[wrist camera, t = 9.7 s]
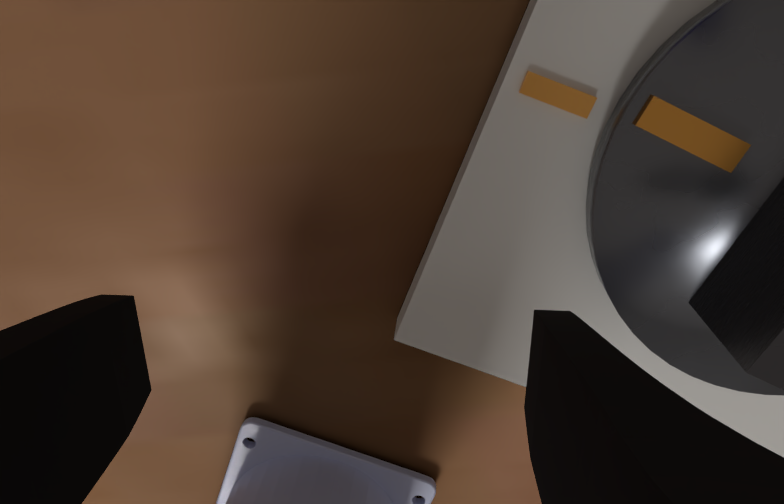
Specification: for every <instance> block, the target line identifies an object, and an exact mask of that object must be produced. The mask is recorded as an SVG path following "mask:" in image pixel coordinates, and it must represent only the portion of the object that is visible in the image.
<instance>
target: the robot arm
mask: <svg viewBox="0 0 784 504" xmlns="http://www.w3.org/2000/svg"><path fill="white" fill-rule="evenodd" d="M150 392H151V385H150V380H149V374H148V369H147V364H146V359H145V353H144V348H143V343H142V337H141V332H140V327H139V321H138V316H137V311H136V305H135V300H134V296H127V295H98V296H94V297H90V298H87V299H83V300H80V301H77V302H74V303H71V304H68V305H66V306H63V307H60V308H58V309H55V310H52V311H50V312H47V313H44V314H42V315H39V316H37V317H34V318H32V319H29V320H26V321H24V322H21V323H19V324H16V325H14V326H11V327H9V328H6V329H4V330H1V331H0V504H82V502H83V501H84V499H85V498H86V497H87V495H88V494H89V492H90V491H91V490H92V488H93V487H94V485H95V484H96V483H97V481H98V480H99V478H100V477H101V475H102V474H103V473H104V471H105V470H106V468H107V467H108V465H109V464H110V462H111V461H112V460H113V458H114V457H115V455H116V454H117V452H118V451H119V449H120V448H121V446H122V445H123V443H124V442H125V440H126V439H127V437H128V436H129V434H130V432H131V430H132V428H133V426H134V424H135V423H136V421H137V419H138V417H139V415H140V413H141V411H142V409H143V407H144V404H145V402H146V400H147V398H148V396H149V394H150ZM524 409H525V418H526V427H527V435H528V443H529V451H530V458H531V462H532V466H533V470H534V474H535V478H536V482H537V486H538V490H539V494H540V498H541V502H542V504H784V457H782V456H780V455H778V454H776V453H774V452H772V451H771V450H769V449H767V448H765V447H763V446H761V445H759V444H757V443H756V442H754V441H752V440H750V439H749V438H747V437H745V436H744V435H742V434H740V433H738V432H737V431H735V430H733V429H732V428H730V427H728V426H726V425H725V424H723V423H721V422H720V421H718V420H716V419H715V418H713V417H711V416H710V415H708V414H706V413H705V412H703V411H702V410H700V409H699V408H697V407H696V406H694V405H692V404H691V403H689V402H688V401H687V400H685V399H684V398H682V397H681V396H679V395H678V394H677V393H675V392H674V391H672V390H671V389H669V388H668V387H666V386H665V385H664V384H662V383H661V382H659V381H658V380H657V379H655V378H654V377H653V376H651V375H650V374H649V373H647V372H646V371H645V370H643V369H642V368H641V367H639V366H638V365H637V364H636V363H634V362H633V361H632V360H630V359H629V358H628V357H627V356H625V355H624V354H623V353H622V352H620V351H619V350H618V349H617V348H616V347H614V346H613V345H612V344H611V343H609V342H608V341H607V340H606V339H605V338H603V337H602V336H601V335H600V334H599V333H597V332H596V331H595V330H594V329H593V328H591V327H590V326H589V325H588V324H587V323H585V322H584V321H583V320H582V319H580V318H579V317H578V316H577V315H575V314H574V313H572V312H571V311H559V310H534V315H533V325H532V335H531V345H530V355H529V366H528V376H527V386H526V396H525V406H524ZM247 438H252V439H253V440H254V441H255V442H252V441H249V440H247ZM435 493H436V483H435V481H434V480H433V479H432V478H431V477H429V476H426V475H423V474H420V473H418V472H415V471H412V470H409V469H406V468H403V467H400V466H397V465H394V464H391V463H388V462H385V461H382V460H380V459H377V458H374V457H371V456H368V455H365V454H362V453H359V452H356V451H353V450H350V449H347V448H345V447H342V446H339V445H336V444H333V443H330V442H327V441H324V440H321V439H318V438H315V437H312V436H310V435H307V434H304V433H301V432H298V431H295V430H292V429H289V428H286V427H283V426H280V425H277V424H274V423H272V422H269V421H266V420H263V419H260V418H256V417H250V418H247V419H246V420H245V421H244V422H243V424H242V426H241V428H240V431H239V434H238V437H237V440H236V443H235V446H234V449H233V452H232V456H231V459H230V462H229V465H228V468H227V471H226V474H225V477H224V480H223V483H222V487H221V490H220V493H219V496H218V499H217V502H216V504H431V502H432V500H433V498H434V496H435ZM417 495H418V496H422V497H423V498H416V497H414V496H417Z"/></svg>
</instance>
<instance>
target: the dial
mask: <svg viewBox="0 0 784 504" xmlns="http://www.w3.org/2000/svg"><path fill="white" fill-rule="evenodd" d="M586 230H587V237H588V242H589V248H590V253H591V257H592V260H593V263H594V266H595V269H596V272H597V274H598V277H599V280H600V281H601V283H602V285H603V287H604V289H605V291H606V293H607V295H608V296H609V298H610V300H611V302H612V304H613V305H614V307H615V309H616V311H617V312H618V314H619V316H620V317H621V318H622V320H623V321H624V322H625V324H626V325H627V326H628V328H629V329H630V330H631V332H632V333H633V334H634V335H635V336H636V337H637V338H638V339H639V340H640V341H641V342H642V343H643V344H644V345H645V346H646V347H647V348H648V349H649V350H650V351H652V352H653V353H654V354H656V355H657V356H658V357H660V358H661V359H663V360H664V361H665V362H667V363H668V364H669V365H671V366H673V367H675V368H677V369H679V370H680V371H682V372H684V373H686V374H688V375H690V376H692V377H694V378H697V379H700V380H702V381H705V382H707V383H710V384H713V385H716V386H720V387H724V388H728V389H732V390H736V391H740V392H747V393H755V394H762V395H784V0H716V1H714V2H713V3H712V4H710V5H709V6H708V7H706V8H705V9H703V10H702V11H701V12H699V13H698V14H697V15H695V16H694V17H693V18H691V19H690V20H688V21H687V22H686V23H685V24H684V25H683V26H681V27H680V28H679V29H678V30H677V31H676V32H675V33H674V34H673V35H672V36H671V37H669V38H668V39H667V40H666V41H665V42H664V43H663V44H662V45H661V46H660V47H659V48H658V49H657V50H656V51H655V53H654V54H653V55H652V56H651V57H650V58H649V59H648V61H647V62H646V63H645V64H644V65H643V66H642V68H641V69H640V70H639V71H638V72H637V74H636V75H635V77H634V78H633V80H632V81H631V82H630V84H629V85H628V87H627V88H626V90H625V91H624V93H623V94H622V96H621V97H620V99H619V100H618V102H617V104H616V106H615V108H614V110H613V112H612V114H611V116H610V117H609V119H608V121H607V123H606V125H605V127H604V130H603V133H602V135H601V138H600V141H599V143H598V146H597V149H596V151H595V154H594V158H593V163H592V167H591V171H590V175H589V179H588V188H587V197H586Z"/></svg>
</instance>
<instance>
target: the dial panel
mask: <svg viewBox="0 0 784 504" xmlns="http://www.w3.org/2000/svg"><path fill="white" fill-rule="evenodd" d="M714 1H716V0H530V2H529V4H528V6H527V9H526V11H525V13H524V16H523V18H522V21H521V23H520V25H519V28H518V30H517V33H516V35H515V37H514V40H513V42H512V45H511V47H510V49H509V52H508V54H507V57H506V59H505V61H504V64H503V66H502V68H501V71H500V73H499V76H498V78H497V80H496V83H495V85H494V88H493V90H492V92H491V95H490V97H489V100H488V102H487V104H486V107H485V109H484V111H483V114H482V116H481V119H480V121H479V123H478V126H477V128H476V131H475V133H474V135H473V138H472V140H471V143H470V145H469V147H468V150H467V152H466V155H465V157H464V159H463V162H462V164H461V166H460V169H459V171H458V174H457V176H456V178H455V181H454V183H453V186H452V188H451V190H450V193H449V195H448V198H447V200H446V202H445V205H444V207H443V210H442V212H441V214H440V217H439V219H438V221H437V224H436V226H435V229H434V231H433V233H432V236H431V238H430V241H429V243H428V245H427V248H426V250H425V253H424V255H423V257H422V260H421V262H420V264H419V267H418V269H417V272H416V274H415V276H414V279H413V281H412V284H411V286H410V288H409V291H408V293H407V296H406V298H405V300H404V303H403V305H402V308H401V310H400V312H399V315H398V317H397V322H396V329H395V335H394V340H395V341H398V342H401V343H404V344H406V345H409V346H412V347H415V348H418V349H420V350H423V351H426V352H429V353H432V354H435V355H437V356H440V357H443V358H446V359H449V360H451V361H454V362H457V363H460V364H463V365H465V366H468V367H471V368H474V369H477V370H479V371H482V372H485V373H488V374H491V375H494V376H496V377H499V378H502V379H505V380H508V381H510V382H513V383H516V384H519V385H522V386H524V387H526V386H527V376H528V366H529V355H530V345H531V335H532V325H533V315H534V310H559V311H571V312H572V313H574V314H575V315H577V316H578V317H579V318H580V319H582V320H583V321H584V322H585V323H587V324H588V325H589V326H590V327H591V328H593V329H594V330H595V331H596V332H597V333H599V334H600V335H601V336H602V337H603V338H605V339H606V340H607V341H608V342H609V343H611V344H612V345H613V346H614V347H616V348H617V349H618V350H619V351H620V352H622V353H623V354H624V355H625V356H627V357H628V358H629V359H630V360H632V361H633V362H634V363H636V364H637V365H638V366H639V367H641V368H642V369H643V370H645V371H646V372H647V373H649V374H650V375H651V376H653V377H654V378H655V379H657V380H658V381H659V382H661V383H662V384H664V385H665V386H666V387H668V388H669V389H671V390H672V391H674V392H675V393H677V394H678V395H679V396H681V397H682V398H684V399H685V400H687V401H688V402H689V403H691V404H692V405H694V406H696V407H697V408H699V409H700V410H702V411H703V412H705V413H706V414H708V415H710V416H711V417H713V418H715V419H716V420H718V421H720V422H721V423H723V424H725V425H726V426H728V427H730V428H732V429H733V430H735V431H737V432H738V433H740V434H742V435H744V436H745V437H747V438H749V439H750V440H752V441H754V442H756V443H757V444H759V445H761V446H763V447H765V448H767V449H769V450H771V451H772V452H774V453H776V454H778V455H780V456H782V457H784V395H762V394H755V393H747V392H740V391H736V390H732V389H728V388H724V387H720V386H716V385H713V384H710V383H707V382H705V381H702V380H700V379H697V378H694V377H692V376H690V375H688V374H686V373H684V372H682V371H680V370H679V369H677V368H675V367H673V366H671V365H669V364H668V363H667V362H665V361H664V360H663V359H661V358H660V357H658V356H657V355H656V354H654V353H653V352H652V351H650V350H649V349H648V348H647V347H646V346H645V345H644V344H643V343H642V342H641V341H640V340H639V339H638V338H637V337H636V336H635V335H634V334H633V333H632V332H631V330H630V329H629V328H628V326H627V325H626V324H625V322H624V321H623V320H622V318H621V317H620V316H619V314H618V312H617V311H616V309H615V307H614V305H613V304H612V302H611V300H610V298H609V296H608V295H607V293H606V291H605V289H604V287H603V285H602V283H601V281H600V280H599V277H598V274H597V272H596V269H595V266H594V263H593V260H592V257H591V253H590V248H589V242H588V237H587V230H586V197H587V188H588V179H589V175H590V171H591V167H592V163H593V158H594V154H595V151H596V149H597V146H598V143H599V141H600V138H601V135H602V133H603V130H604V127H605V125H606V123H607V121H608V119H609V117H610V116H611V114H612V112H613V110H614V108H615V106H616V104H617V102H618V100H619V99H620V97H621V96H622V94H623V93H624V91H625V90H626V88H627V87H628V85H629V84H630V82H631V81H632V80H633V78H634V77H635V75H636V74H637V72H638V71H639V70H640V69H641V68H642V66H643V65H644V64H645V63H646V62H647V61H648V59H649V58H650V57H651V56H652V55H653V54H654V53H655V51H656V50H657V49H658V48H659V47H660V46H661V45H662V44H663V43H664V42H665V41H666V40H667V39H668V38H669V37H671V36H672V35H673V34H674V33H675V32H676V31H677V30H678V29H679V28H680V27H681V26H683V25H684V24H685V23H686V22H687V21H688V20H690V19H691V18H693V17H694V16H695V15H697V14H698V13H699V12H701V11H702V10H703V9H705V8H706V7H708V6H709V5H710V4H712V3H713V2H714Z"/></svg>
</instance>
